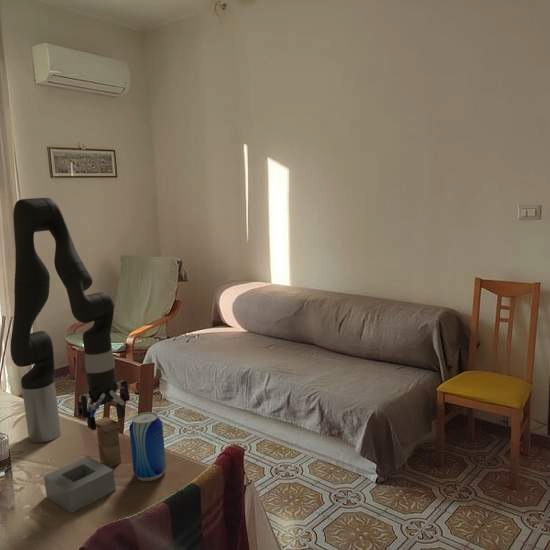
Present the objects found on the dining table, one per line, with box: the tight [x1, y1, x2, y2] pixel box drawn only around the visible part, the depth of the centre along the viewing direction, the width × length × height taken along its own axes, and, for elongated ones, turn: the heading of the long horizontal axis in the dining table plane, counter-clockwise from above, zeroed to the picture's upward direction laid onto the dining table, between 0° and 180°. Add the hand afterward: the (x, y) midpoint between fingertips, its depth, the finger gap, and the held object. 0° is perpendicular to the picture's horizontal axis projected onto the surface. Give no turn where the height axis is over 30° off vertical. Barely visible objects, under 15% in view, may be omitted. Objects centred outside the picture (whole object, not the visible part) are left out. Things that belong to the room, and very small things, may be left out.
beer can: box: [128, 411, 167, 482], centre depth 140 cm, size 8×8×16 cm
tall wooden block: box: [95, 416, 122, 468], centre depth 147 cm, size 7×4×12 cm, turn 49°
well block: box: [43, 455, 116, 514], centre depth 134 cm, size 12×12×6 cm
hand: (107, 423), depth 146 cm, fingers open, 8 cm apart
